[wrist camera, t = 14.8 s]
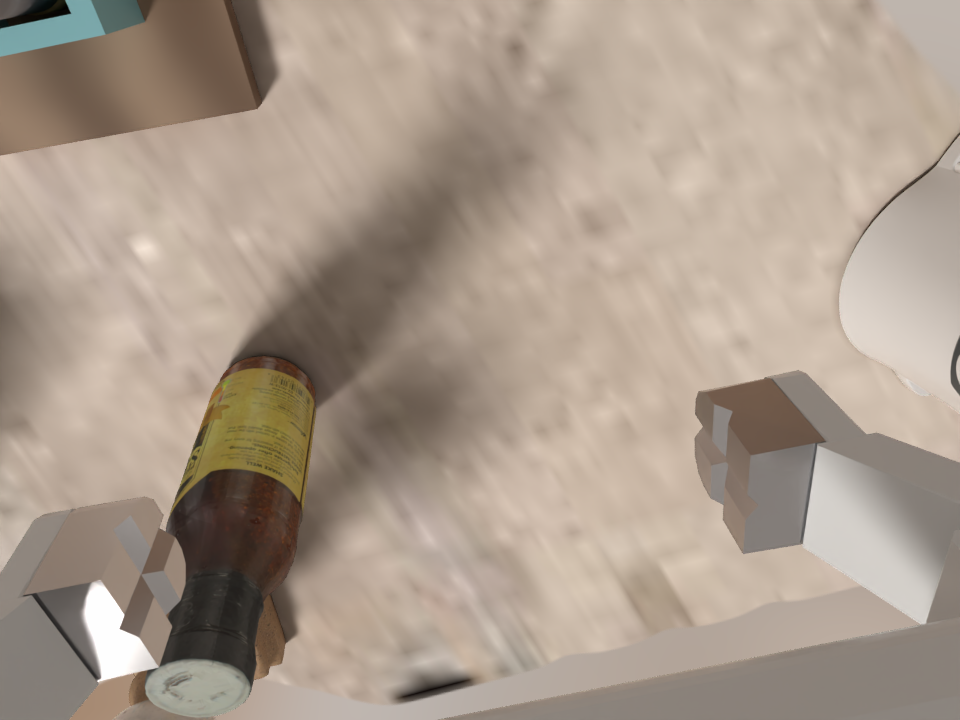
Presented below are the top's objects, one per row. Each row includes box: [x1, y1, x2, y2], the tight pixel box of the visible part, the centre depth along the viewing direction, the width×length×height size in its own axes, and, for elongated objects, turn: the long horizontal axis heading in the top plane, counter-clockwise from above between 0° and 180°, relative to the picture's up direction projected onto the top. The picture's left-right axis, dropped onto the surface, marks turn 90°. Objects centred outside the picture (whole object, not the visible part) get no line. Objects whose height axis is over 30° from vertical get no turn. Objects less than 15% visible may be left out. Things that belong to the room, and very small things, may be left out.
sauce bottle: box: [145, 356, 316, 718], centre depth 35 cm, size 7×6×20 cm
